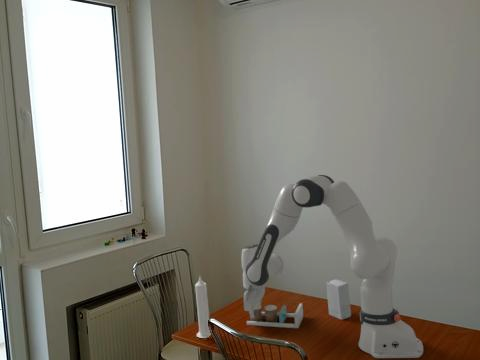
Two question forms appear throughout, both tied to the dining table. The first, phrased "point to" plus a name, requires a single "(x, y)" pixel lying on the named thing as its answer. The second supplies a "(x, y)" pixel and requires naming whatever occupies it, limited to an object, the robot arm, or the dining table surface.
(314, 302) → the dining table surface
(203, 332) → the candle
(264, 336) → the dining table surface
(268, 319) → the jar front
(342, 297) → the skincare box
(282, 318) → the plate
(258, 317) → the jar
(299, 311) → the lane
